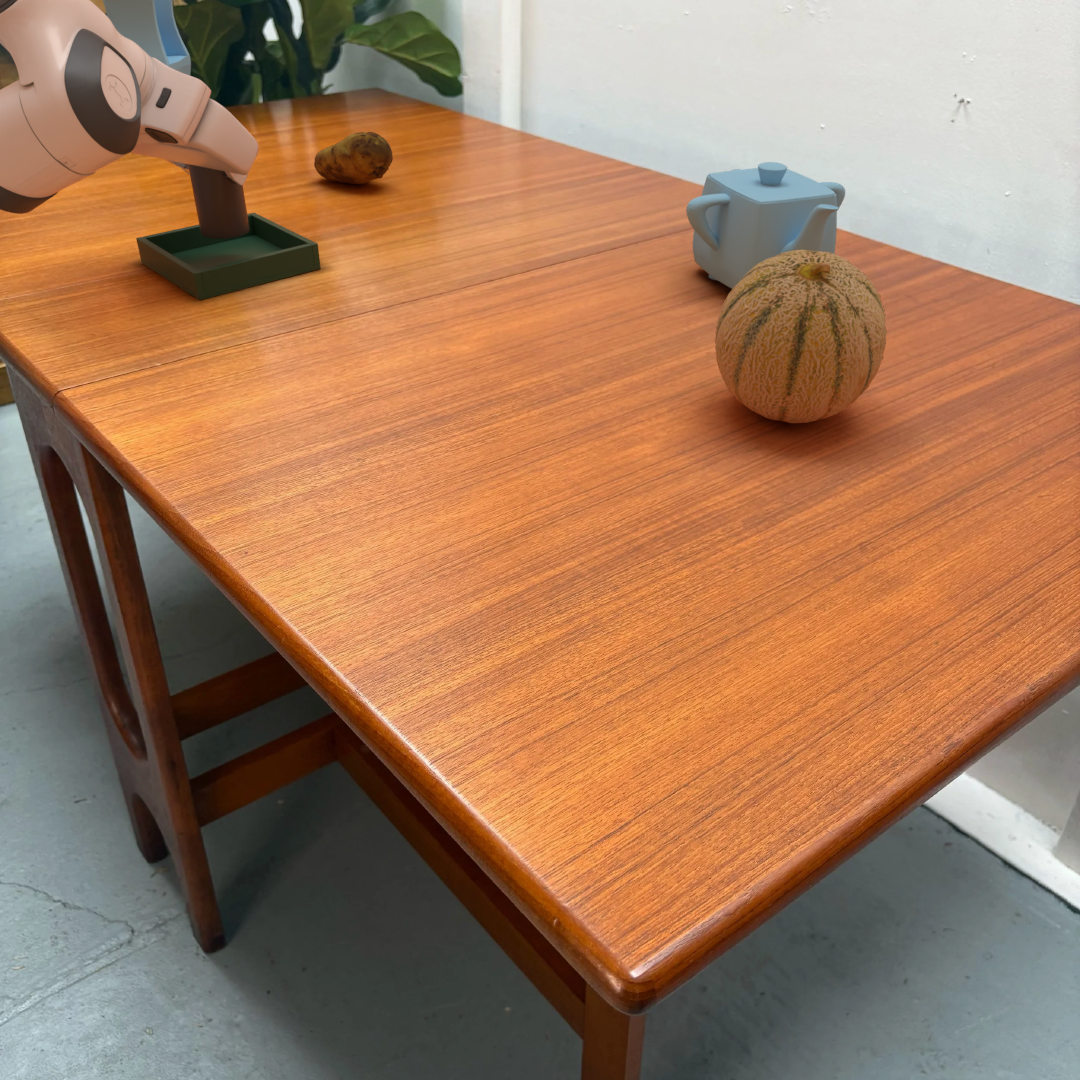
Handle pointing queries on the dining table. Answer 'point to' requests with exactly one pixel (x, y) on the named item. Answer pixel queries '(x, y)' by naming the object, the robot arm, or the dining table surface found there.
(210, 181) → the pepper mill
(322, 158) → the potato
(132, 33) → the vase
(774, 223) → the teapot
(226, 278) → the tray
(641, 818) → the dining table surface
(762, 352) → the cantaloupe
